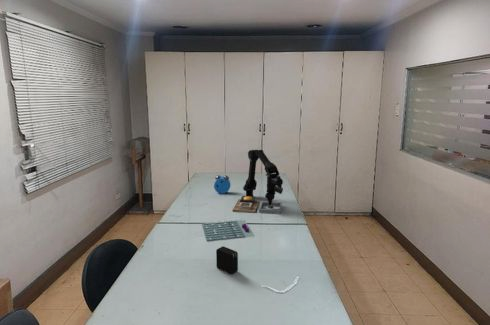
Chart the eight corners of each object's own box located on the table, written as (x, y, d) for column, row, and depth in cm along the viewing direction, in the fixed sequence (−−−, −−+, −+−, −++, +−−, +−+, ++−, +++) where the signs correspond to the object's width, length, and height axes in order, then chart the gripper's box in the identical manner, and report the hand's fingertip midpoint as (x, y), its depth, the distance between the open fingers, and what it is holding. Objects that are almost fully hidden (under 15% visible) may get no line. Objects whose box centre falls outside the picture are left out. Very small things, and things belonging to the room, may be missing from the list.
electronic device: (222, 264, 161) (222, 245, 159) (238, 271, 155) (237, 251, 153) (216, 268, 158) (216, 248, 156) (232, 275, 152) (231, 255, 149)
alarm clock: (230, 192, 276) (230, 174, 273) (229, 194, 270) (229, 176, 267) (215, 191, 277) (214, 174, 274) (214, 193, 271) (213, 176, 268)
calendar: (201, 224, 212) (201, 220, 211) (244, 220, 218) (244, 216, 218) (206, 242, 186) (206, 238, 186) (254, 237, 193) (254, 233, 192)
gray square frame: (261, 204, 245) (261, 201, 244) (281, 206, 243) (281, 202, 242) (258, 212, 230) (258, 209, 229) (280, 213, 227) (280, 210, 227)
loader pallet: (238, 200, 255) (238, 195, 254) (259, 201, 252) (259, 196, 251) (232, 211, 232) (232, 205, 231) (255, 212, 229) (255, 207, 228)
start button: (244, 199, 251) (244, 196, 251) (252, 199, 250) (252, 196, 250) (242, 202, 245) (242, 198, 245) (251, 202, 244) (251, 199, 243)
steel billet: (267, 206, 238) (268, 195, 237) (274, 206, 238) (274, 195, 236) (267, 208, 234) (267, 197, 232) (273, 208, 233) (273, 197, 232)
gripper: (281, 187, 222) (281, 209, 225) (283, 179, 240) (282, 200, 243) (265, 186, 223) (265, 208, 227) (267, 179, 241) (267, 199, 245)
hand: (270, 203), depth 235 cm, fingers closed on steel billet, 4 cm apart
